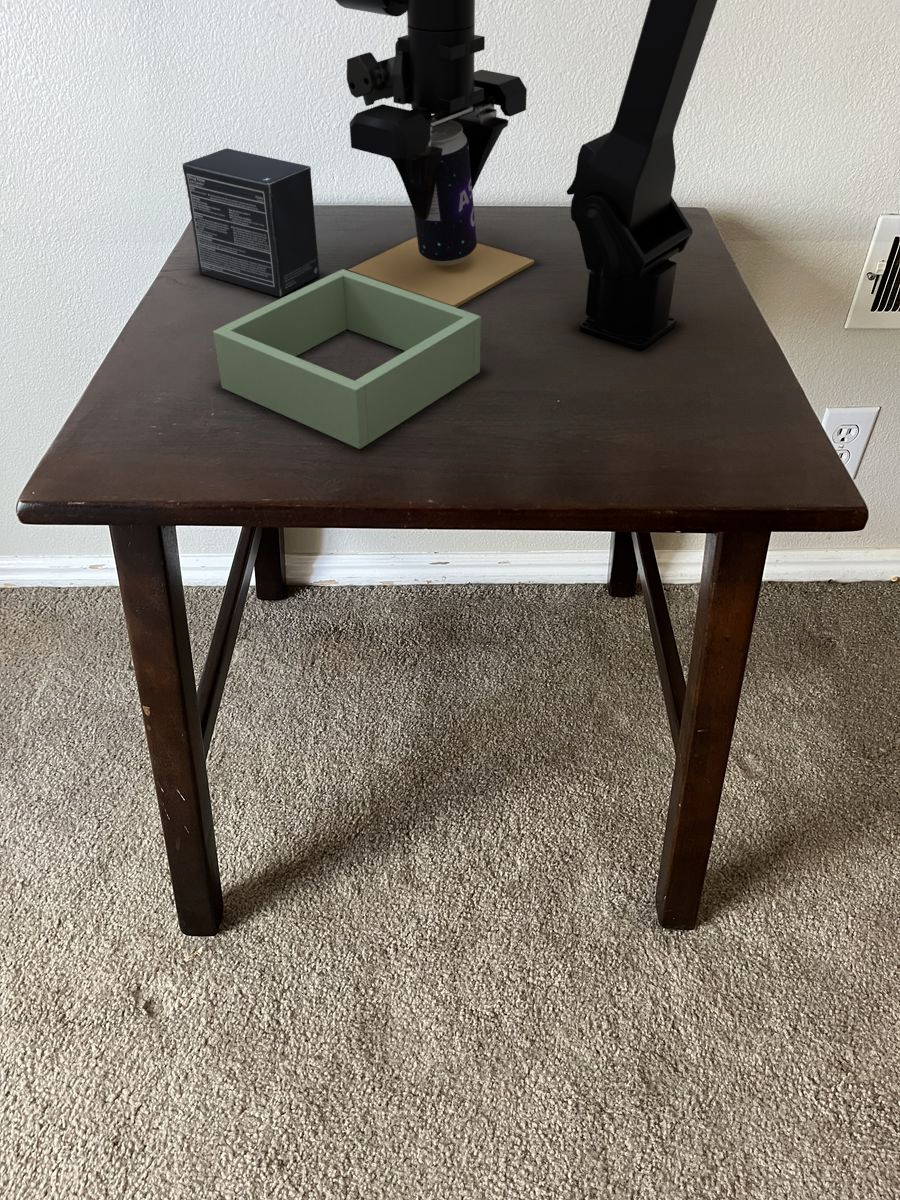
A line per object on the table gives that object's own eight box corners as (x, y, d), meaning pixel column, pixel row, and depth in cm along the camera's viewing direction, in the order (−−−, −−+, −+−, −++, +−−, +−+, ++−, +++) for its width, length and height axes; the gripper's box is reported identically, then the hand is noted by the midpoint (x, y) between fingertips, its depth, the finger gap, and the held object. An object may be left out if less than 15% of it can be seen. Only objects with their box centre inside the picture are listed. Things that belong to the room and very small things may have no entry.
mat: (534, 263, 103) (534, 259, 103) (453, 309, 95) (453, 305, 95) (431, 232, 109) (431, 229, 109) (348, 273, 101) (348, 269, 101)
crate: (480, 372, 86) (481, 315, 83) (359, 449, 77) (355, 389, 74) (346, 322, 93) (342, 268, 90) (221, 388, 84) (212, 331, 81)
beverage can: (471, 269, 99) (460, 143, 90) (414, 269, 100) (397, 144, 92) (482, 240, 103) (472, 116, 94) (426, 240, 104) (411, 117, 95)
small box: (324, 275, 101) (315, 163, 94) (281, 299, 97) (268, 185, 90) (241, 251, 105) (226, 143, 98) (196, 274, 101) (178, 163, 94)
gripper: (435, -6, 97) (437, 165, 108) (295, 31, 86) (312, 219, 96) (533, 9, 92) (526, 188, 102) (397, 51, 81) (404, 247, 91)
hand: (442, 208), depth 98 cm, fingers closed on beverage can, 6 cm apart
